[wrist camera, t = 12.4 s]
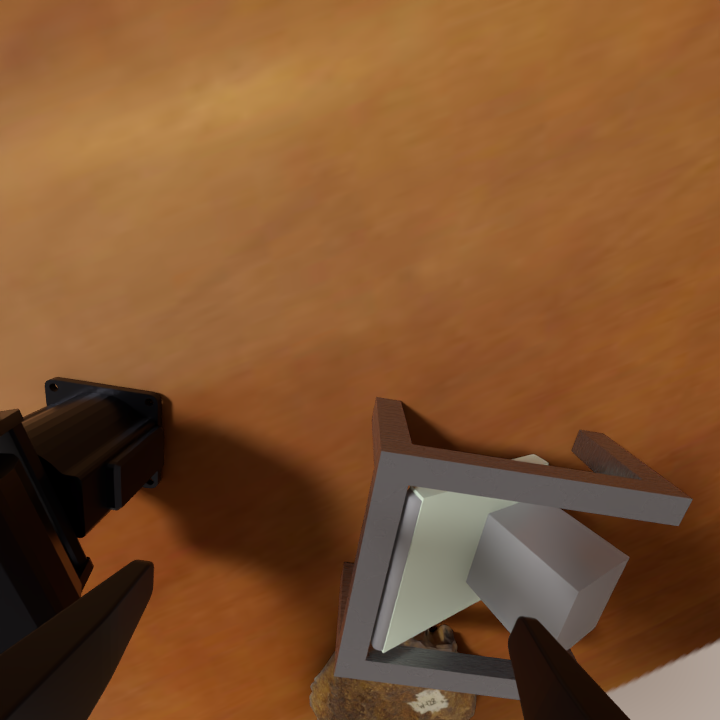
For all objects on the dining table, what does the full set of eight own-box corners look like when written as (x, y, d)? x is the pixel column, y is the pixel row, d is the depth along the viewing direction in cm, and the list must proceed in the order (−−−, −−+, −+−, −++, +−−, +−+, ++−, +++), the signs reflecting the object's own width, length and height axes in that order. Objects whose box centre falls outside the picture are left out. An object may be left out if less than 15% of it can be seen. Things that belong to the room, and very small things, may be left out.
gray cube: (465, 582, 21) (542, 670, 16) (488, 513, 19) (578, 591, 15) (517, 556, 23) (594, 627, 19) (540, 494, 22) (629, 557, 18)
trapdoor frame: (340, 578, 25) (333, 676, 19) (376, 397, 21) (381, 451, 15) (532, 605, 25) (582, 708, 19) (603, 433, 21) (692, 498, 15)
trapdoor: (366, 638, 19) (376, 657, 18) (402, 486, 16) (416, 500, 15) (490, 575, 24) (502, 588, 24) (533, 453, 22) (548, 463, 21)
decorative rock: (406, 743, 31) (486, 624, 27) (415, 813, 27) (511, 685, 23) (285, 717, 29) (355, 586, 26) (276, 788, 25) (357, 646, 22)
